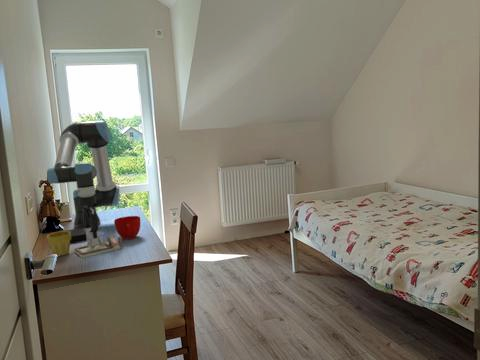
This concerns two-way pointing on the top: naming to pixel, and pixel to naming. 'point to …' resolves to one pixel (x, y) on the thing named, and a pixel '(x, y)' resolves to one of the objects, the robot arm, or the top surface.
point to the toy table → (98, 240)
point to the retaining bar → (112, 241)
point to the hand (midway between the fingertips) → (92, 243)
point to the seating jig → (97, 249)
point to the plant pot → (60, 242)
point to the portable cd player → (77, 235)
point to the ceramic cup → (128, 226)
